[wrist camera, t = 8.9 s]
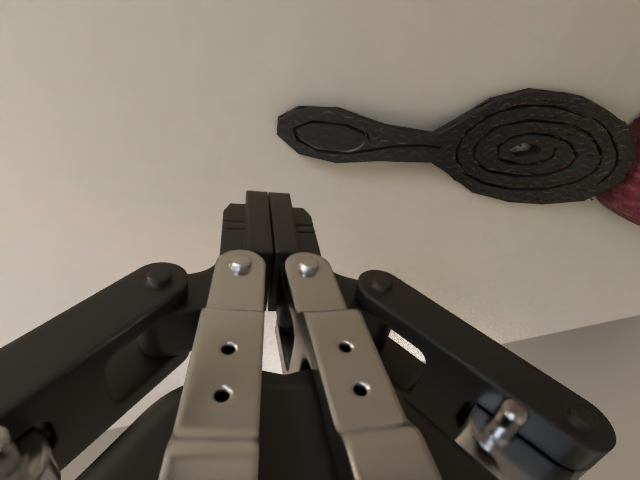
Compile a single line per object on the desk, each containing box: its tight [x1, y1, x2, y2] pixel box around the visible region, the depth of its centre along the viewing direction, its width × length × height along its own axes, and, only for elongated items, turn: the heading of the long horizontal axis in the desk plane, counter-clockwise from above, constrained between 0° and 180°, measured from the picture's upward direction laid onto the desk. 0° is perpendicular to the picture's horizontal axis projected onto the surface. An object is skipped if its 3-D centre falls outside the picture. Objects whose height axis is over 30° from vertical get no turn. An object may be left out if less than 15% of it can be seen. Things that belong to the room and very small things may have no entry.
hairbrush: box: [277, 88, 640, 204], centre depth 26 cm, size 8×4×25 cm
